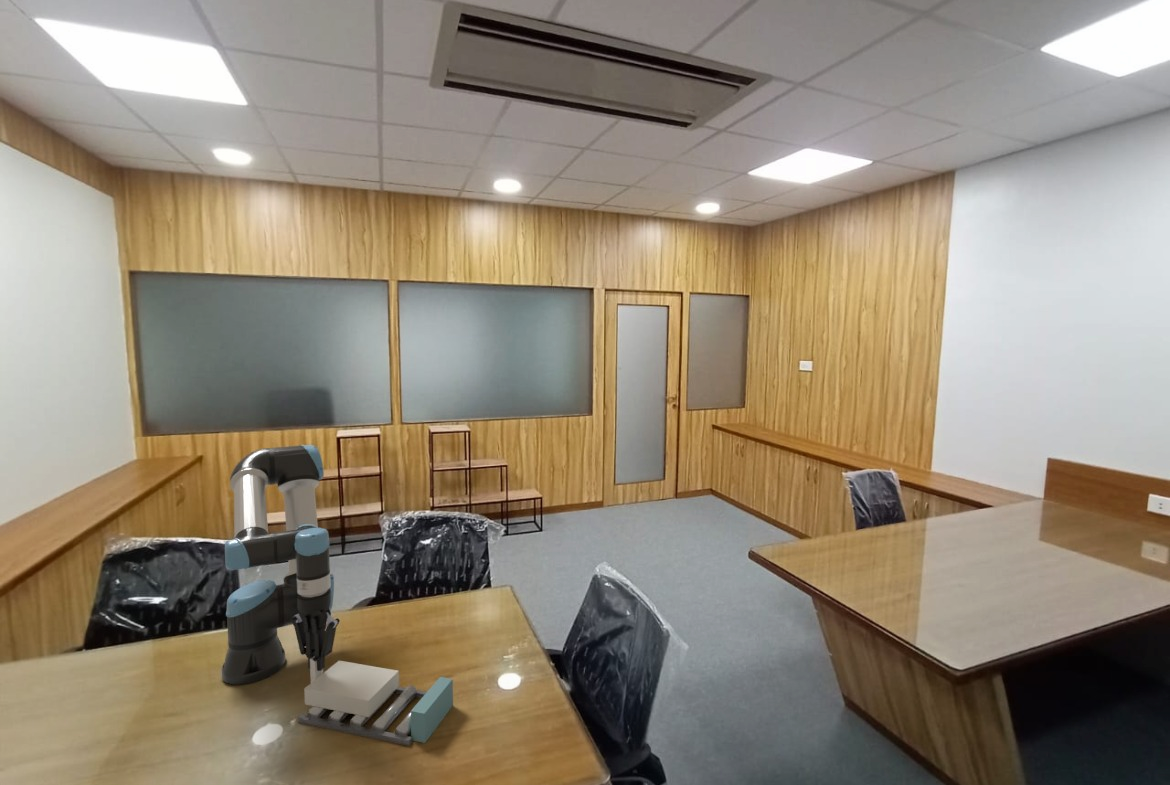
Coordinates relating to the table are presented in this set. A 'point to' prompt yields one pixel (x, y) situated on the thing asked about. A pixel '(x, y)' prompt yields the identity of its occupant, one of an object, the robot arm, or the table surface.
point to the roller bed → (359, 720)
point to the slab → (352, 688)
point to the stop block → (431, 709)
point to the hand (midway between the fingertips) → (317, 681)
